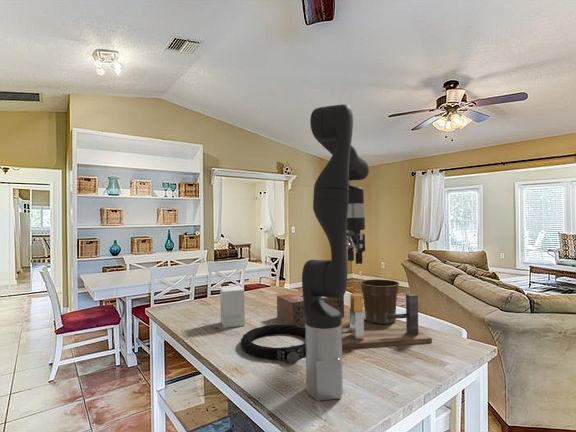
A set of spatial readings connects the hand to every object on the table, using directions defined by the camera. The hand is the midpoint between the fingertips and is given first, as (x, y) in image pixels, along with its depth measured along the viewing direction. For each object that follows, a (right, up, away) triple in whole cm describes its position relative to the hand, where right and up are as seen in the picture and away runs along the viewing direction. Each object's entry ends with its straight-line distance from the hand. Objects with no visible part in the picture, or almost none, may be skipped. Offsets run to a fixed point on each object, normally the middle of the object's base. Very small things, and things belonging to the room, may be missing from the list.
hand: (354, 262), depth 123 cm
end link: (-2, -26, -1) cm, 26 cm away
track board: (+9, -28, +1) cm, 29 cm away
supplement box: (-47, -29, +22) cm, 59 cm away
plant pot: (+15, -28, +24) cm, 40 cm away
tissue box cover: (-14, -29, +30) cm, 44 cm away
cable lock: (-26, -29, -3) cm, 39 cm away
